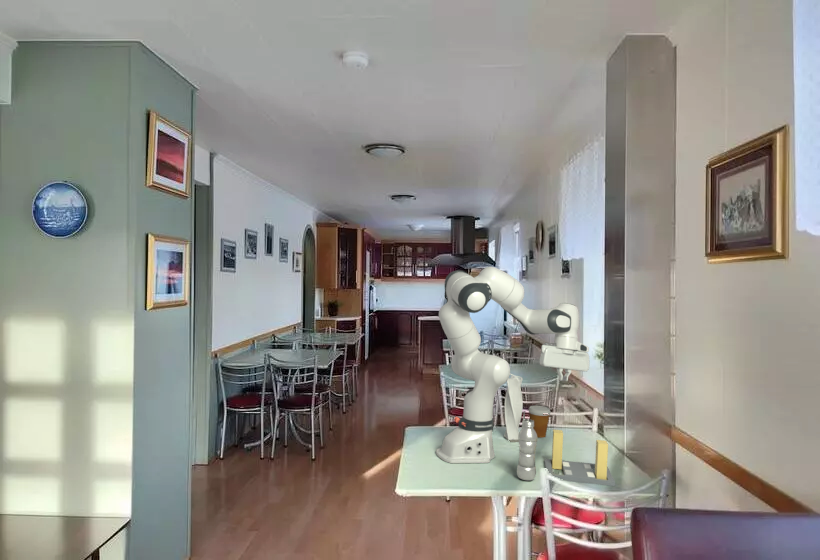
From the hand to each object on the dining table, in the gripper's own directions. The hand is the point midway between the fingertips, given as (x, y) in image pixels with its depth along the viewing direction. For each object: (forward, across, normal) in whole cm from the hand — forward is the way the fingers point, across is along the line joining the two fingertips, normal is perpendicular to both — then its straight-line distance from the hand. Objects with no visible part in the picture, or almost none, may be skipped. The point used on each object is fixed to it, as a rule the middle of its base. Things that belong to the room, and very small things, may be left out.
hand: (563, 380), depth 206 cm
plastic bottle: (+35, -21, -15) cm, 43 cm away
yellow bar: (+32, +5, -20) cm, 38 cm away
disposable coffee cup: (+24, +8, +29) cm, 39 cm away
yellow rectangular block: (+31, -4, -7) cm, 32 cm away
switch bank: (+32, 0, -13) cm, 35 cm away
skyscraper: (+27, -6, +26) cm, 38 cm away
